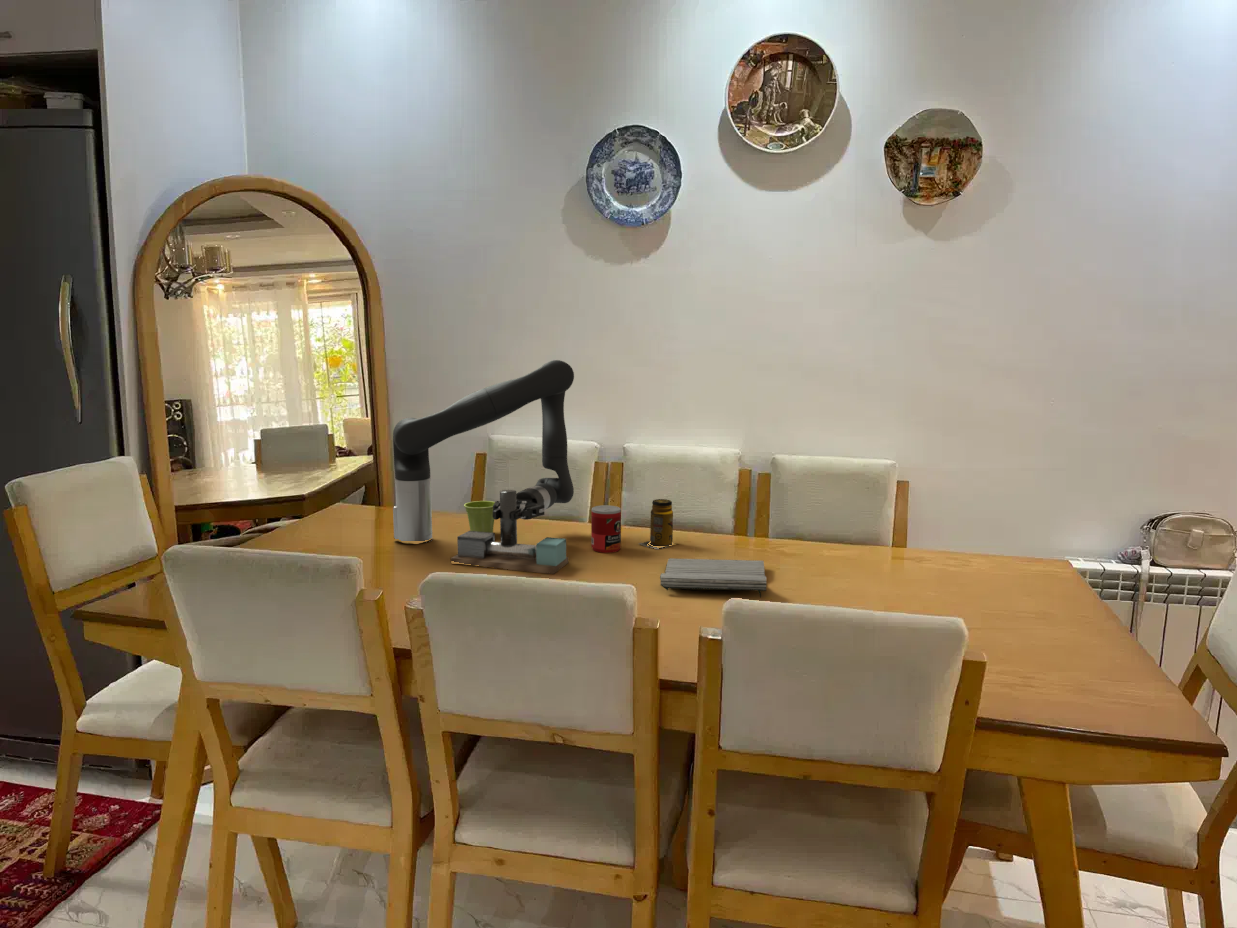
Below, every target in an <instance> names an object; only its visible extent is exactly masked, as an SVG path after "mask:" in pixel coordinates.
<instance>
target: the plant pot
mask: <svg viewBox="0 0 1237 928" xmlns="http://www.w3.org/2000/svg"><path fill="white" fill-rule="evenodd" d="M495 502H496V501H492V500H479V501H478V500H476V501H470V502H466V503H464V505H463V507H464V508H465V512H466V514H467V519H468V525H469V531H478V532H490V533H494V528H495V527H494V526H495V525H494V524H495V519H494V518H493V505H494V503H495Z"/></svg>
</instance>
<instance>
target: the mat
mask: <svg viewBox="0 0 1237 928" xmlns="http://www.w3.org/2000/svg"><path fill="white" fill-rule="evenodd" d="M765 571H766V570H765V563H764V560H754V559H753V560H752V559H751V560H745V559H713V558H712V559H710V558H709V559H708V558H706V559H705V558H673V557H672V558H671V557H670V558H668V560H667V563H666V567H665V570H664V573H663V572H661V573H660V577H659V579H660V586H661V587H662V588H664V589H665V590H666V591H668V590H669V589H673V590H674V589H675V590H677V589H678V590H719V591H720V590H726V591H756V592H758V594H759V597H760V598H761V599H762V595H761V592H767V576H766V575H765V574H766V572H765Z"/></svg>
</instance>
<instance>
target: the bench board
mask: <svg viewBox="0 0 1237 928" xmlns="http://www.w3.org/2000/svg"><path fill="white" fill-rule="evenodd" d="M451 561H454V562H459V563H464V564H471V565H479V566H484V567H483V568H487V567H494V568H493V569H497V568H503V569H502V570H507V569H508V570H510V571H518V572H519V571H521V572H529V573H530V572H531V573H538V574H550V575H551V574H552V575H555V574H556V573H557V572H558V571H560V570H561V569H562V568H564V567H565V566H566V565H568V564H569V556H566V559H565V560H564V561H562V562H561V563H560V564H558V565H557V566H550V565H539V564H537V561H536V558H524V557H514V556H503V555H492V554H485V558H484V559H479V558H469V557H458V553H457V554H456V555H454V556H452V557H450V562H451ZM508 570H507V571H508Z"/></svg>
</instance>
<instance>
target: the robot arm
mask: <svg viewBox="0 0 1237 928" xmlns="http://www.w3.org/2000/svg"><path fill="white" fill-rule="evenodd" d="M574 380H575V372H574V370H573V368H572V366H571V365H570V364H568V363H567V362H565V361H563V360H561V359H560V360H559V359H556V360H555V359H553V360H551V361H548V362H546V363H544V364H543V365H542V366H541V367H538V368H537V369H535V370H533V371H531V372H530V373H527V374H525V375H523V376H519V377H517V378H514V379H510V380H506V381H502V382H499V383H494V384H492V385H489V386H486V387H483V388H481V389H479V390H477V391H474V392H472V393H470V394H467V395H465V396H463V397H462V398H460V399H459V400H457V401H455V402H454V403H452V404H451V405H449V406H447V407H446V408H444V409H443V410H440V411H438V412H435V413H433V414H432V413H431V414H429V415H426V416H424V417H419V418H416V417H406V418H403V419H401V420H399V422H397V423H396V425H395V426H394V428H393V432H392V448H393V468H394V480H395V481H394V483H395V485H394V486H395V505H394V506H393V508H392V514H393V515H392V516H393V517H392V518H393V519H392V521H393V538H395V539H399V540H401V541H425V540H429V539H431V538H432V539H433V517H432V513H433V511H432V486H431V481H432V479H431V466H430V465H431V464H430V454H429V452H430V451H429V449H430V448H432V447H433V446H436V445H437V444H439V443H441V442H443V441H445V440H447V439H449V438H452V437H454V436H456V435H459V434H462V433H466V432H469V431H472V430H475V429H477V428H480V427H483V426H485V425H488V424H490V423H493V422H495V421H498V420H500V419H502V418H504V417H506V416H508V415H510V414H512V413H514V412H515V411H518V410H519V409H521V408H522V407H524V406H526V405H528V404H530V403H533V402H534V401H537V400H540V403H541V414H542V416H541V418H542V419H541V421H542V428H541V429H542V431H541V432H542V435H541V437H542V438H541V440H542V441H541V442H542V443H541V452H542V453H541V463H542V467H543V468H544V469H547V470H551V471H554V472H555V473H556V475H557V477H543V478H539V479H538V480H537V481H536V484H535V485H533V486H528V487H527V488H524V489H522V490H520V491H518V492H516V505H517V510H515V511H513V512H511V521H516V520H520V519H521V520H527V521H528V520H531V519H534V518H537V517H541V516H544V515H545V511H546V510H548V509H549V508H552V507H553V505H554V504H568V503H569V502H570V501H572V499H573V497H574V491H575V489H574V485H573V480H572V477H571V473H570V469H569V465H568V437H567V436H568V435H567V427H566V421H565V412H564V411H565V410H564V409H565V396H566V392H567V391H568V390H569V389H570V388H571V387H572V385H573V383H574ZM494 502H495V503H494V505H493V518H494V521H495V520H496V521H497V520H499V519H500V500H496V501H494Z"/></svg>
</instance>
